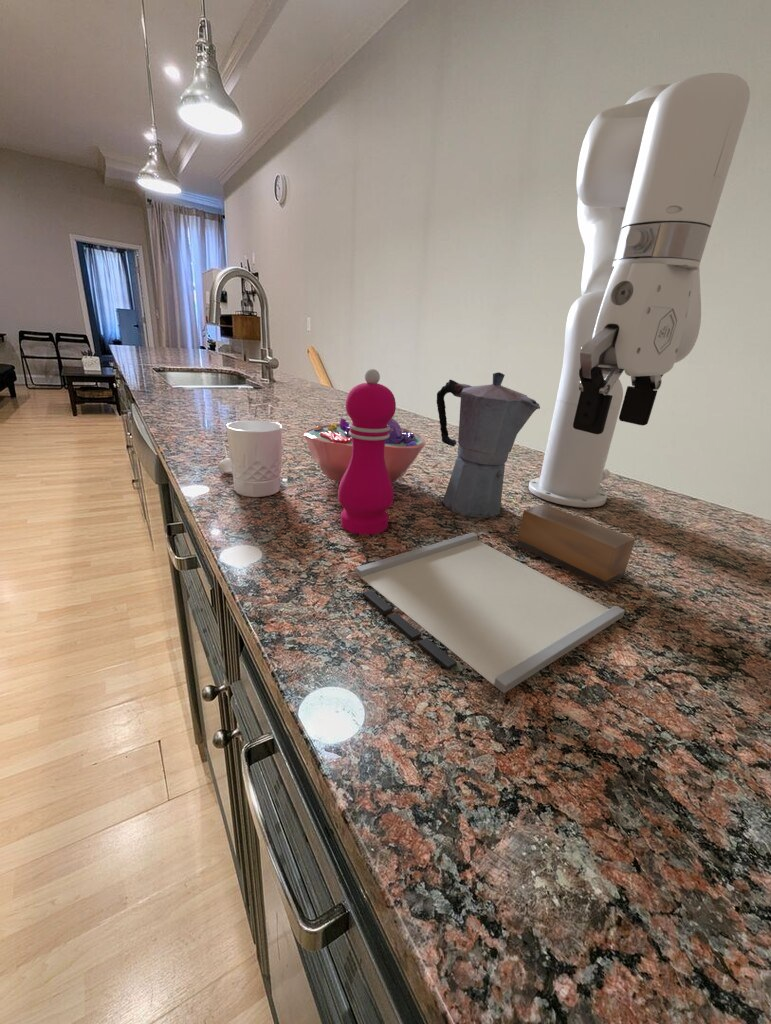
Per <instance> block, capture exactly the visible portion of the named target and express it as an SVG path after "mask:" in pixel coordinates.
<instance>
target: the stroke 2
mask: <svg viewBox="0 0 771 1024" xmlns="http://www.w3.org/2000/svg"><path fill="white" fill-rule="evenodd" d="M386 618H387V619H386V620H387V621H388V622H390V623H391V624H392V625H393V626H395V628H397V629H398V630H399V631H400V632H401V633H403V634H404V635H405V636H406V637H407V638H409V640H410V641H412V642H413V641H416V640H417V639H420V638H422V633H421V631H419V630H418V629H416V628H415V627H414V626H413V625H412V624H410V622H408V621H407V620H405V618H403V617H402V616H401V615H400V614H398V613H397V612H392V613H390V614H387V617H386Z"/></svg>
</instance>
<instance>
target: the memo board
mask: <svg viewBox="0 0 771 1024" xmlns="http://www.w3.org/2000/svg"><path fill="white" fill-rule="evenodd" d="M478 536H479V535H478V534H476V533H475V532H468V533H466V534H461V535H459V536H456V537H452V538H449V539H445V540H441V541H438V542H436V543H433V544H429V545H425V546H422V547H419V548H416V549H412V550H409V551H406V552H403V553H402V552H401V553H399V554H396V555H392V556H389V557H386V558H382V559H379V560H375V561H373V562H369V563H366V564H362V565H359V566H356V567H355V575H356V576H358V577H359V578H360V579H361V580H362V581H364V582H365V583H366V584H368V585H369V586H370V587H371V588H373V589H374V590H375V591H377V592H378V593H379V594H380V595H381V596H382V597H384V598H385V599H386V600H387V601H389V602H390V603H391V604H393V606H395V607H396V608H398V610H400V611H401V612H402V613H404V614H405V616H407V617H409V618H410V619H411V620H412V621H413V622H414V623H416V624H417V625H419V627H421V628H422V629H423V630H425V632H427V633H428V634H429V635H431V636H432V637H433V638H435V639H436V640H437V641H438V642H440V643H441V644H442V645H443V646H444V647H445V648H447V649H448V650H449V651H451V653H452V654H454V655H455V656H456V657H458V658H459V659H461V660H462V661H463V662H464V663H466V664H467V665H468V666H469V667H471V668H472V669H473V670H474V671H475V672H476V673H478V674H479V675H480V676H482V677H483V678H484V679H485V680H486V681H488V682H489V683H490V684H492V685H493V686H494V687H495V688H496V689H497V690H499V691H500V692H501V693H502V694H505V693H507V692H508V691H510V690H512V689H514V688H515V687H516V686H518V685H520V684H521V683H522V682H524V681H526V680H527V679H529V678H531V677H532V676H533V675H535V674H537V673H538V672H539V671H541V670H543V669H545V668H547V666H549V665H551V664H552V663H554V662H556V661H557V660H558V659H560V658H562V657H563V656H565V655H566V654H568V653H569V652H571V651H572V650H574V649H575V648H577V647H579V646H580V645H582V644H583V643H585V642H586V641H588V640H590V639H591V638H593V637H595V636H596V635H597V634H599V633H600V632H602V631H604V630H605V629H607V628H608V627H610V626H611V625H613V624H615V623H616V622H617V621H619V620H621V619H622V618H623V617H624V615H625V612H626V609H624V608H621V607H620V606H618V605H613V606H612V607H611V608H608V607H607V606H604V605H603V604H601V603H599V602H597V601H595V600H593V599H591V598H589V597H587V596H585V595H584V594H582V593H580V592H578V591H576V590H574V589H573V588H570V587H568V586H566V585H564V584H563V583H560V582H558V581H557V580H555V579H553V578H551V577H549V576H547V575H546V574H543V573H542V572H540V571H537V570H535V569H534V568H532V567H530V566H528V565H526V564H524V563H522V562H520V561H518V560H516V559H514V558H513V557H511V556H509V555H507V554H505V553H504V552H502V551H499V550H498V549H496V548H493V547H491V546H489V545H488V544H486V543H484V542H482V541H480V540H478V538H479V537H478Z"/></svg>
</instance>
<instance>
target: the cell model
mask: <svg viewBox="0 0 771 1024" xmlns="http://www.w3.org/2000/svg"><path fill="white" fill-rule="evenodd" d="M350 423H351V422H348V421H347V419H346V418H340V422H339V423H334V422H333V423H331V424H317V425H316V426H313V427H311V428H307V429H306V430H304V431H303V433H302V434H303V437H304V440H305V442H306V444H307V445H306V446H307V447H308V450H309V453H310V455H311V456H312V458H313V460H314V462H315V463H316V464H317V465H318V467H319V468H320V469H321V471H322V473H323V474H324V475H325V476H326V477H327V478H328V479H330V480H331V481H335V482H337V483H340V482H341V479H342V477H343V475H344V473H345V472H346V470H347V468H348V466H349V463H350V460H351V456H352V437H351V436H350V435H349V431H350V427H349V424H350ZM387 425H389V426H390V430H389V435H390V436H389V438H387V439H386V441H385V447H384V459H385V464H386V468H387V471H388V473H389V476H390V479H391V481H392V483H394V482H396V481H397V480H399V479H401V478H403V477H404V475H405V474H406V473H407V472H408V470H409V469H410V467H411V466H412V465H413V464H414V462H416V459H418V456H419V455H420V453H421V451H423V449H424V447H425V446H426V445H427V441H426V439H425V437H424V436H422V435H420V434H418V433H415V432H413V431H411V430H409V429H407V428H403V427H401V425H400V424H399V422H398V421H397V420H396V419H394V418H393V417H392V418H391V419H390V420H389V422H388V424H387Z"/></svg>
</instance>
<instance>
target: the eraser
mask: <svg viewBox="0 0 771 1024" xmlns="http://www.w3.org/2000/svg"><path fill="white" fill-rule="evenodd" d="M635 541H636V539H635V538H633V537H632V536H629V535H626V534H623V533H621V532H618V531H616V530H613V529H610V528H608V527H605V526H603V525H600V524H598V523H595V522H593V521H590V520H587V519H586V518H585V519H584V518H582V517H580V516H577V515H575V514H572V513H569V512H566V511H564V510H561V509H559V508H556V507H554V506H551V505H549V504H546V503H545V504H541V505H537V506H534V507H530V508H526V509H523V512H522V516H521V522H520V526H519V531H518V536H517V540H516V546H518V547H520V548H522V549H524V550H527V552H530V553H532V554H534V555H536V556H539V557H541V558H543V559H545V560H547V561H549V562H551V563H553V564H555V565H557V566H559V567H561V568H563V569H566V570H567V571H569V572H572V573H573V574H575V575H577V576H580V577H581V578H583V579H586V580H587V581H589V582H592V583H594V584H596V585H598V586H600V587H601V588H605V587H607V586H609V585H611V584H613V583H614V582H616V581H618V580H620V579H622V578H624V577H625V573H626V571H627V567H628V564H629V561H630V558H631V554H632V551H633V548H634V546H635Z"/></svg>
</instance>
